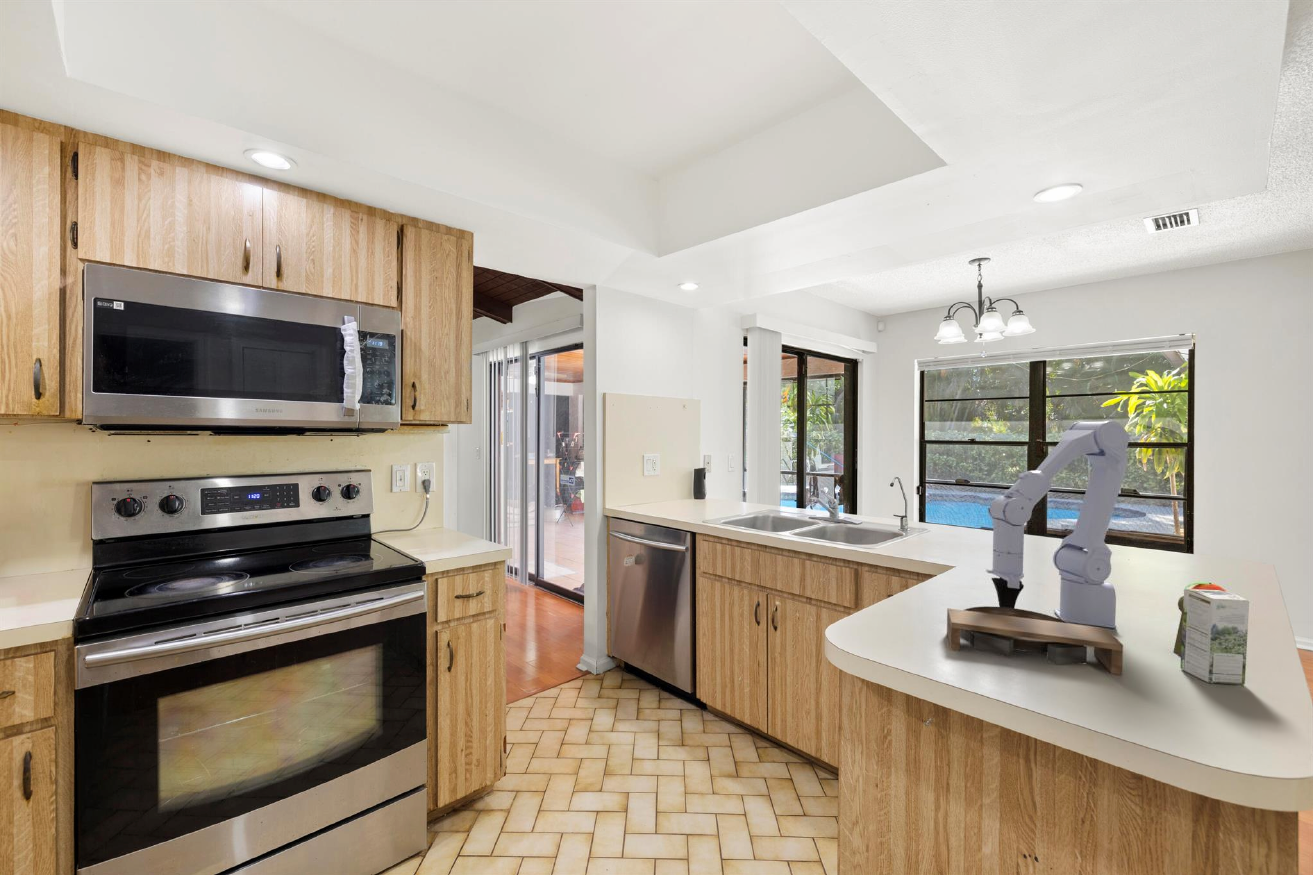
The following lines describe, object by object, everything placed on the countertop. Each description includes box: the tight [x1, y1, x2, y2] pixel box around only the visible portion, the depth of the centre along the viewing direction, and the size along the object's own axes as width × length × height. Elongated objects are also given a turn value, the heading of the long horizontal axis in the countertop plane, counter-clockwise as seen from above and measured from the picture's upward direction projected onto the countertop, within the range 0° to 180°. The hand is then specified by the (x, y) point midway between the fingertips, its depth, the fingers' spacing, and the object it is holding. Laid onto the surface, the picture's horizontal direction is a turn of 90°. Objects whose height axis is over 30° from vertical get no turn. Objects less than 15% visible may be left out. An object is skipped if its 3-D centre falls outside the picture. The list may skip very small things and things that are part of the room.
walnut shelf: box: [946, 608, 1124, 676], centre depth 105 cm, size 26×9×5 cm, turn 67°
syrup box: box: [1179, 588, 1250, 686], centre depth 95 cm, size 6×6×14 cm
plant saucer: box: [963, 605, 1071, 653], centre depth 113 cm, size 21×21×3 cm
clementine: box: [1183, 582, 1227, 592], centre depth 130 cm, size 8×7×7 cm
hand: (1006, 612), depth 124 cm, fingers closed
